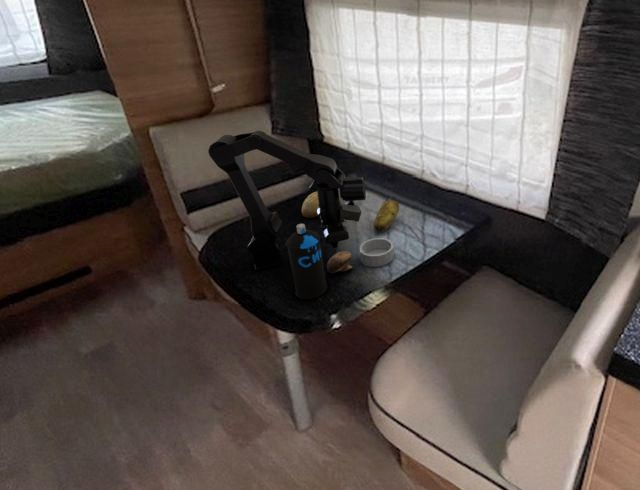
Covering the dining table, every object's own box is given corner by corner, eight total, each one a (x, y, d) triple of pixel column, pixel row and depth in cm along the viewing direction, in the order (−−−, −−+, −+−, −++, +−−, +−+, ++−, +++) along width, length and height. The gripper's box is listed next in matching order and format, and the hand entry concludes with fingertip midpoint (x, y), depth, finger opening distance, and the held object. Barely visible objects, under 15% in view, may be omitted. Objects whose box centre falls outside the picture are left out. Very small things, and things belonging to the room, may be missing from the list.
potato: (364, 230, 142) (362, 209, 139) (390, 215, 153) (388, 195, 150) (382, 237, 139) (380, 215, 135) (407, 221, 149) (406, 201, 146)
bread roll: (348, 208, 157) (346, 189, 154) (311, 223, 146) (308, 203, 143) (333, 201, 162) (330, 182, 159) (297, 215, 151) (293, 195, 148)
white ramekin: (365, 270, 121) (364, 259, 120) (357, 253, 129) (356, 242, 128) (398, 262, 126) (397, 250, 124) (388, 245, 134) (388, 235, 132)
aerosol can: (288, 292, 112) (275, 227, 104) (314, 276, 118) (303, 214, 111) (308, 303, 108) (296, 237, 100) (334, 286, 114) (324, 223, 107)
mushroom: (362, 262, 120) (348, 245, 118) (340, 282, 116) (325, 266, 114) (354, 261, 126) (341, 246, 125) (334, 280, 122) (319, 265, 121)
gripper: (364, 209, 116) (369, 256, 122) (351, 184, 131) (355, 227, 137) (322, 217, 111) (329, 266, 117) (313, 190, 126) (320, 235, 133)
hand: (335, 247), depth 126 cm, fingers closed
